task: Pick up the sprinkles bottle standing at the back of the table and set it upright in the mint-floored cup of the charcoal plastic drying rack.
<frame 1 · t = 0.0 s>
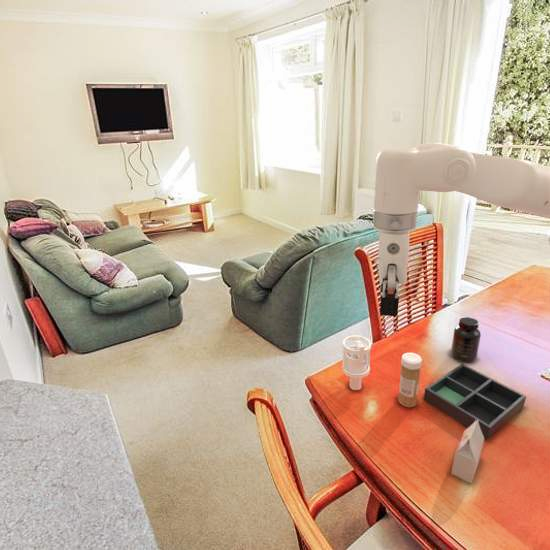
hand: (388, 303, 75), 32 cm above the table, tool pointing down, fingers open, 9 cm apart
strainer: (355, 386, 100), on the table
white gable-top carton: (465, 467, 76), on the table
rack: (472, 403, 92), on the table
sprinkles bottle: (407, 402, 94), on the table
supplement bottle: (463, 356, 110), on the table
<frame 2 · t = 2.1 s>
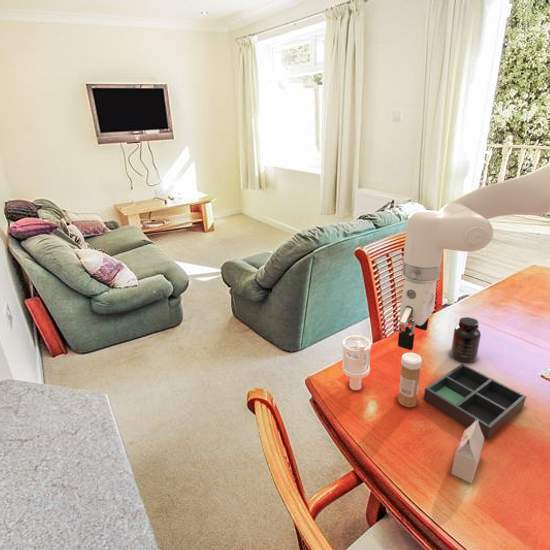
hand: (412, 337, 86), 19 cm above the table, tool pointing down, fingers open, 9 cm apart
nothing on the table moved.
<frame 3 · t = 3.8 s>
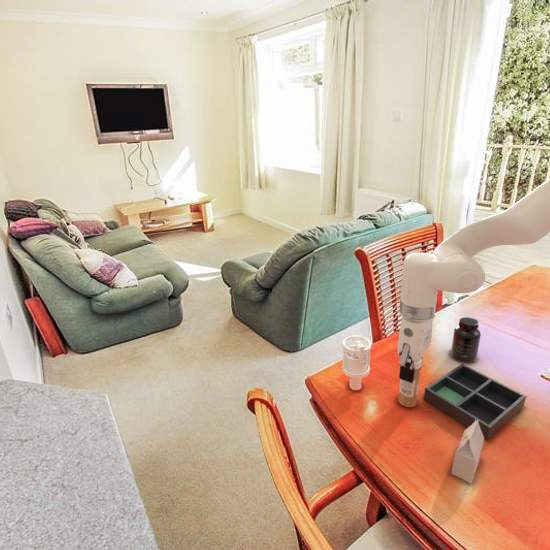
hand: (410, 373, 91), 9 cm above the table, tool pointing down, fingers closed on sprinkles bottle, 4 cm apart
sprinkles bottle: (407, 402, 94), on the table, touching gripper
everything else where it was.
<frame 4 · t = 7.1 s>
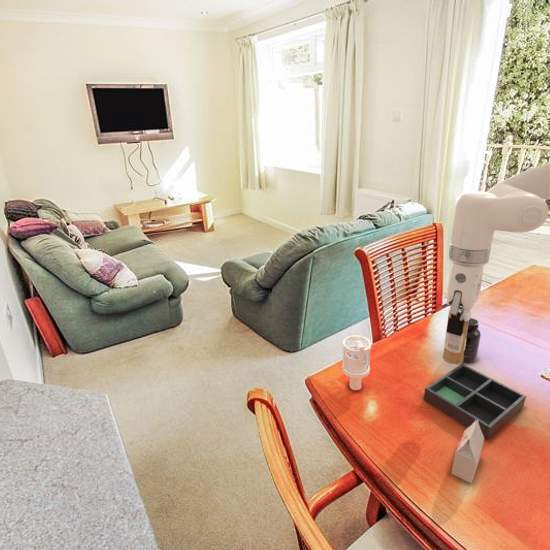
hand: (457, 327, 85), 21 cm above the table, tool pointing down, fingers closed on sprinkles bottle, 4 cm apart
sprinkles bottle: (452, 359, 88), point 13 cm above the table, touching gripper
everything else where it was.
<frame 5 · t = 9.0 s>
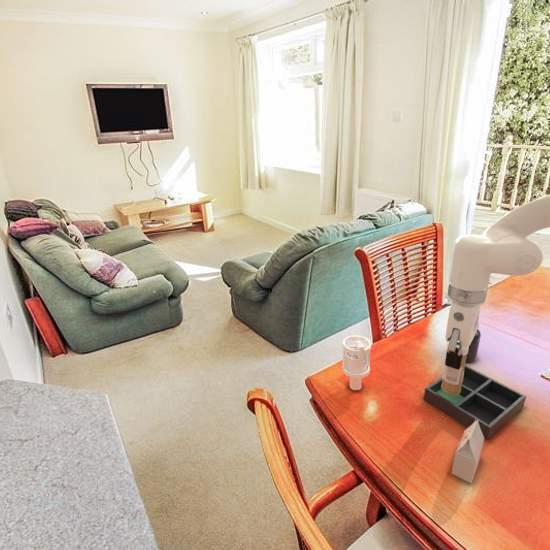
hand: (455, 360, 88), 12 cm above the table, tool pointing down, fingers closed on sprinkles bottle, 4 cm apart
sprinkles bottle: (450, 390, 92), point 3 cm above the table, touching gripper
everything else where it was.
when the fingers open (9 cm above the table, at t = 10.2 s): sprinkles bottle stays where it is, resting on rack.
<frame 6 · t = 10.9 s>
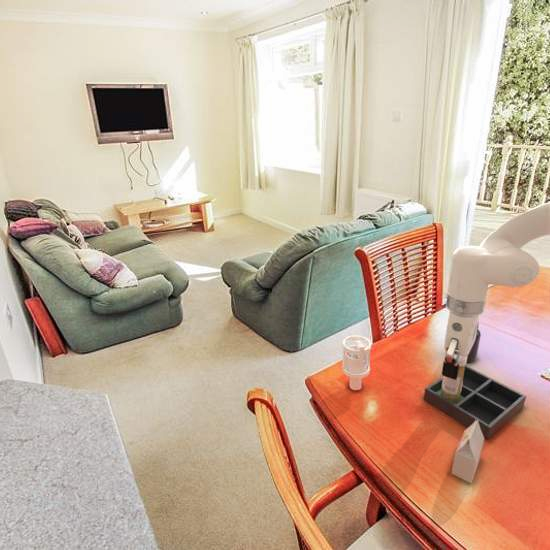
hand: (454, 365, 89), 11 cm above the table, tool pointing down, fingers open, 9 cm apart
sprinkles bottle: (449, 399, 93), point 1 cm above the table, touching rack
everything else where it was.
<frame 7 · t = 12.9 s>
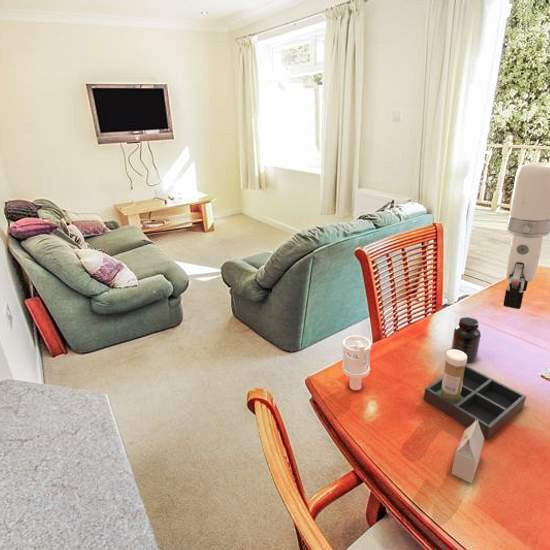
hand: (514, 298, 84), 27 cm above the table, tool pointing down, fingers open, 9 cm apart
nothing on the table moved.
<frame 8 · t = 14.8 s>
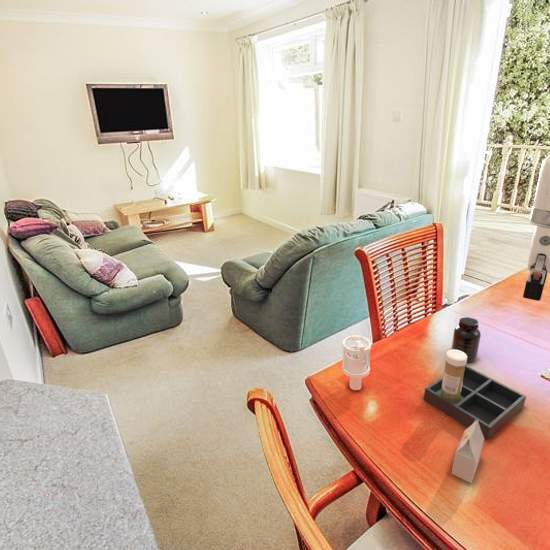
hand: (534, 290, 85), 28 cm above the table, tool pointing down, fingers open, 9 cm apart
nothing on the table moved.
at the end: sprinkles bottle 0.1 cm from the target spot in the rack, point 0.5 cm above the rack's base; sprinkles bottle tilted 0°; the gripper is holding nothing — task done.
